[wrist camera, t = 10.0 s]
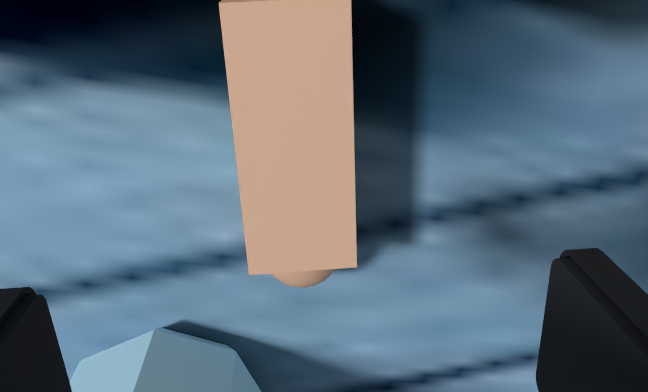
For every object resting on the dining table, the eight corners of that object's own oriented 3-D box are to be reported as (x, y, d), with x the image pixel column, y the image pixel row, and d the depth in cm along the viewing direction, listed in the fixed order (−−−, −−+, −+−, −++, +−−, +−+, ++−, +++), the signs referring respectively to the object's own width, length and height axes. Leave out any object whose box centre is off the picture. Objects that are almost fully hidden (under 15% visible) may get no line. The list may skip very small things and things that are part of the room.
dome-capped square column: (224, -55, 21) (212, -56, 17) (338, -61, 21) (350, -63, 17) (257, 263, 26) (253, 311, 23) (347, 257, 26) (357, 303, 23)
